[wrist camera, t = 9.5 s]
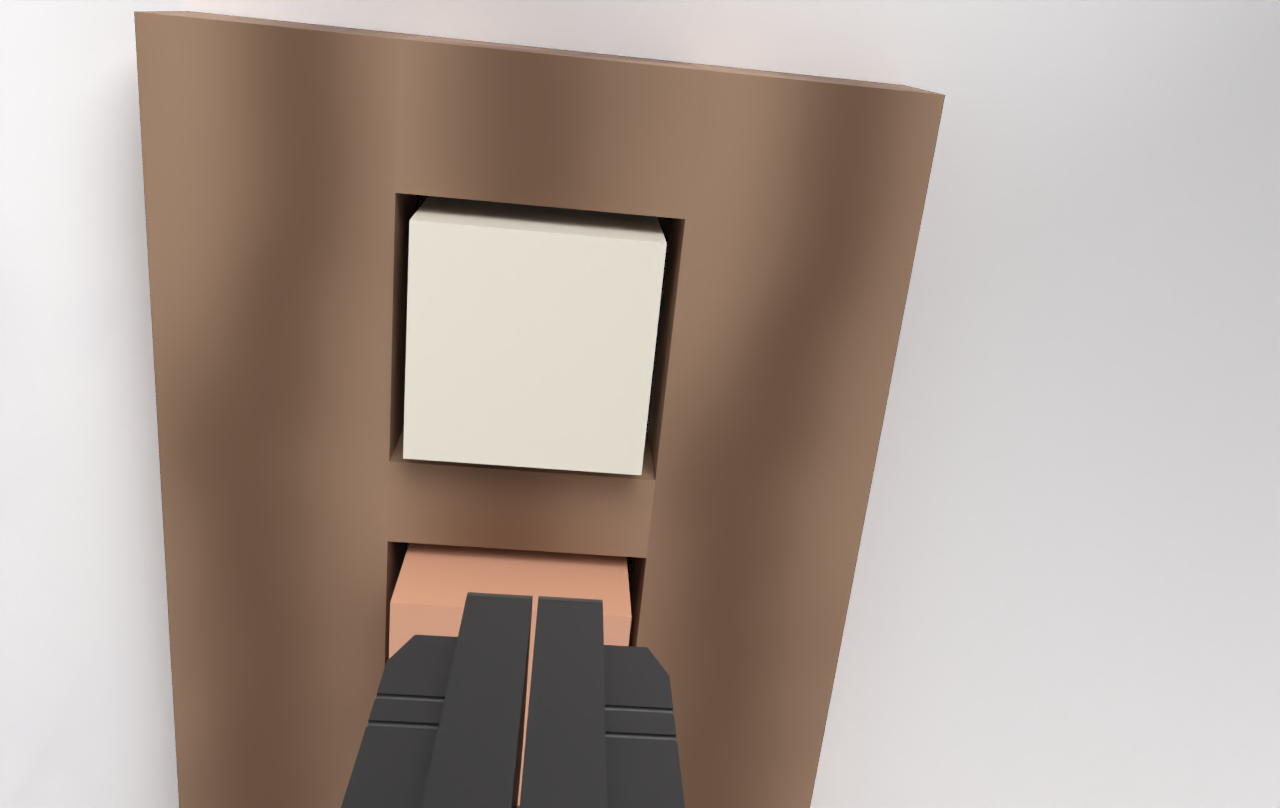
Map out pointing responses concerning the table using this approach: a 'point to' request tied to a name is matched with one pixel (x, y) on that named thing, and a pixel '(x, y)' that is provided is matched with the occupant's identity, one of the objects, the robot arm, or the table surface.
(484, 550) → the terracotta pad
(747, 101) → the button board
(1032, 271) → the table surface
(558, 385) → the cream pad
